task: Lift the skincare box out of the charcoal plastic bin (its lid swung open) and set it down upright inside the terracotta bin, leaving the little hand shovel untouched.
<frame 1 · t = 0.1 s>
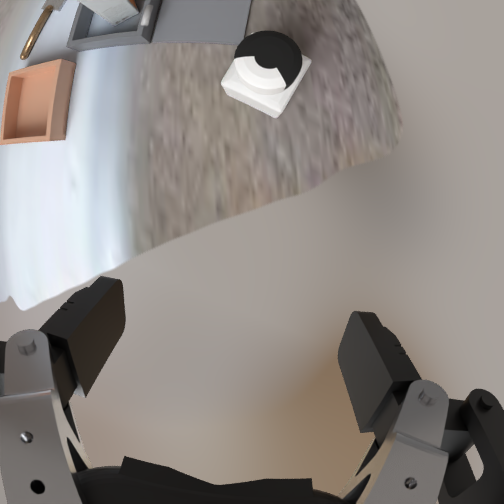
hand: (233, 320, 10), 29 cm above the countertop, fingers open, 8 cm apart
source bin: (122, 6, 27), on the countertop
medicine bottle: (264, 83, 32), on the countertop
hand shovel: (54, 5, 25), on the countertop
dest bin: (41, 104, 32), on the countertop
skincare box: (123, 7, 27), resting in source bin
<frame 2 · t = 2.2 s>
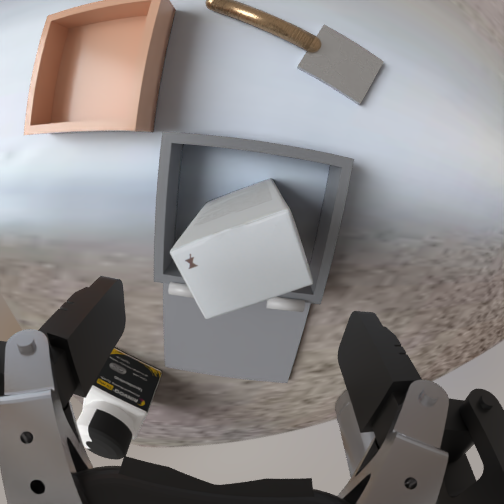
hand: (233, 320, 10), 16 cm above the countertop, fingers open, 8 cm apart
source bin: (248, 211, 25), on the countertop
medicine bottle: (130, 373, 32), on the countertop
hand shovel: (320, 52, 20), on the countertop
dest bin: (103, 70, 20), on the countertop
skincare box: (248, 211, 25), resting in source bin
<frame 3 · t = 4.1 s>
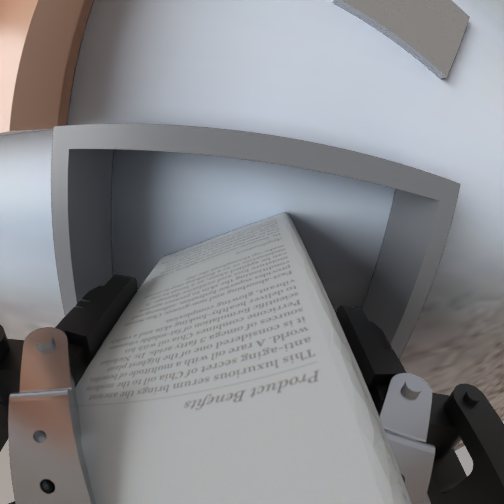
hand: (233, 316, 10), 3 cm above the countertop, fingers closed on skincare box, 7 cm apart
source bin: (239, 275, 13), on the countertop
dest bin: (11, 39, 8), on the countertop
skincare box: (240, 273, 13), resting in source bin, touching gripper
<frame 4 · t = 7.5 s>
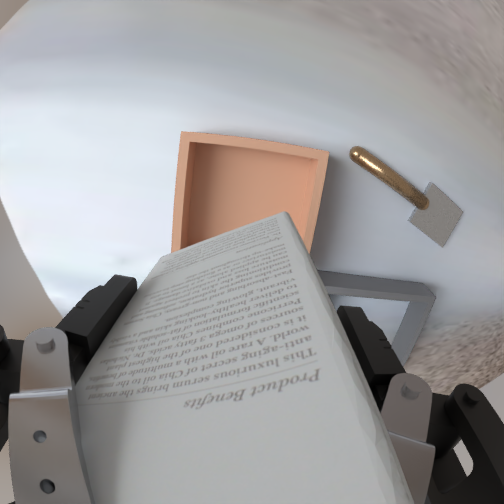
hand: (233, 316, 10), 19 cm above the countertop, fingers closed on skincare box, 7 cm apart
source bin: (358, 322, 33), on the countertop
hand shovel: (424, 205, 28), on the countertop
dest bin: (246, 202, 28), on the countertop
skincare box: (240, 272, 13), point 16 cm above the countertop, touching gripper
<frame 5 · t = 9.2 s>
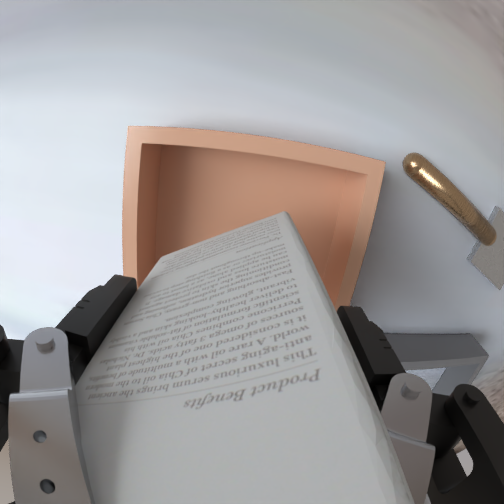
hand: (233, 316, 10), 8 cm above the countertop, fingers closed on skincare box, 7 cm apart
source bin: (390, 385, 23), on the countertop
hand shovel: (487, 238, 18), on the countertop
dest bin: (243, 237, 18), on the countertop
skincare box: (240, 272, 13), point 5 cm above the countertop, touching gripper
when the fingers open (5 cm above the countertop, at t = 10.9 s): skincare box drops 1 cm, resting on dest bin.
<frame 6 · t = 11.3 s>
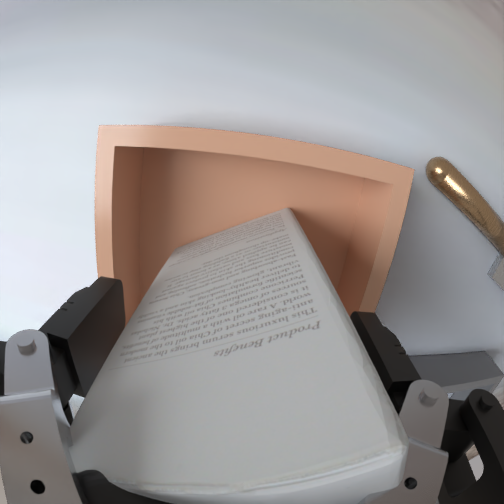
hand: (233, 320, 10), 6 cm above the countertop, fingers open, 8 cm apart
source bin: (399, 407, 20), on the countertop
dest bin: (240, 255, 15), on the countertop
skincare box: (247, 262, 15), point 1 cm above the countertop, touching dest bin
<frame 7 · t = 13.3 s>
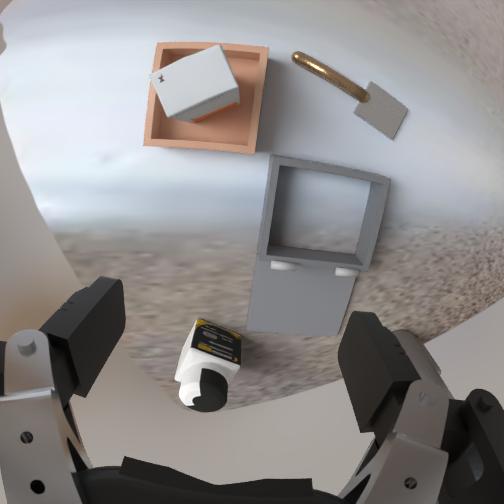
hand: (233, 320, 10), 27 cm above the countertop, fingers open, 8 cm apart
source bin: (319, 211, 36), on the countertop
medicine bottle: (211, 341, 43), on the countertop
hand shovel: (367, 101, 30), on the countertop
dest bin: (208, 98, 30), on the countertop
skincare box: (210, 98, 30), point 1 cm above the countertop, touching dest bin
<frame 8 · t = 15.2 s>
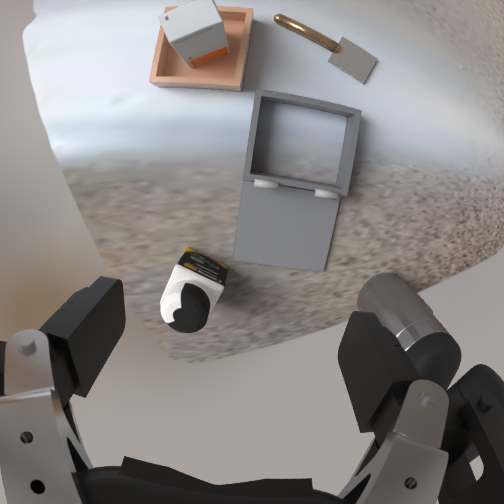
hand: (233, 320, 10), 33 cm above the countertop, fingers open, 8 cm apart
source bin: (300, 142, 38), on the countertop
medicine bottle: (199, 274, 46), on the countertop
hand shovel: (340, 53, 33), on the countertop
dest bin: (205, 50, 34), on the countertop
skincare box: (207, 50, 33), point 1 cm above the countertop, touching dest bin
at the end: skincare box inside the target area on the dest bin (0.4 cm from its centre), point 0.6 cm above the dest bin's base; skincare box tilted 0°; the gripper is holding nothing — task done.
